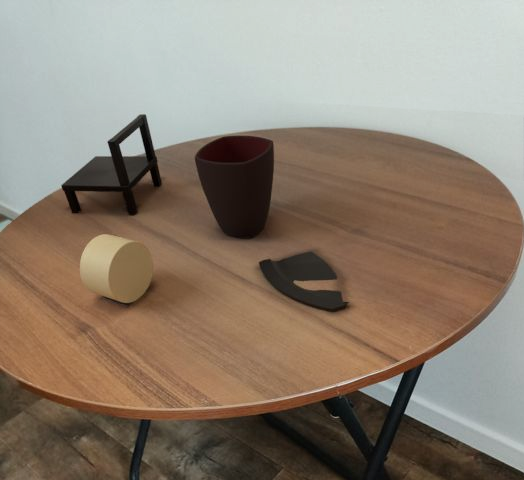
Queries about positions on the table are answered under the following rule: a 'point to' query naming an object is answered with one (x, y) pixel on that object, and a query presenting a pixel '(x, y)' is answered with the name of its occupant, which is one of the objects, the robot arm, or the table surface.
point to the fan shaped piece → (303, 270)
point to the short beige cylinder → (116, 268)
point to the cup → (238, 182)
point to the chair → (116, 169)
